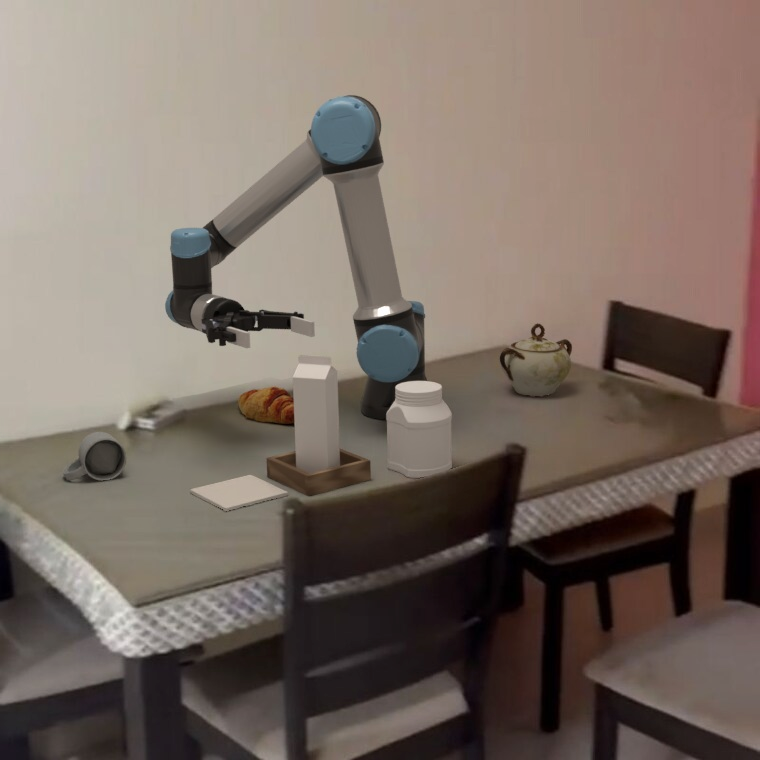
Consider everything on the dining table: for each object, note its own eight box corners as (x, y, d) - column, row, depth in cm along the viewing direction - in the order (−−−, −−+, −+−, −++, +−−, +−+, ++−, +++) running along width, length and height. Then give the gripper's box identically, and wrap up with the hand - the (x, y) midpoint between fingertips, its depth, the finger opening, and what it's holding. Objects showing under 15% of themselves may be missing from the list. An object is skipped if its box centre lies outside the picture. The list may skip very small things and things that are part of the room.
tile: (250, 477, 219) (250, 474, 219) (288, 495, 210) (287, 492, 210) (190, 492, 212) (189, 489, 212) (226, 511, 203) (225, 508, 203)
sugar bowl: (548, 378, 283) (549, 313, 279) (593, 391, 271) (594, 323, 267) (478, 391, 273) (478, 324, 269) (522, 406, 261) (523, 336, 257)
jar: (379, 465, 225) (377, 384, 221) (421, 455, 230) (420, 376, 226) (417, 481, 216) (416, 397, 212) (460, 470, 221) (460, 388, 217)
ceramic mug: (118, 464, 228) (114, 424, 226) (128, 477, 221) (124, 436, 219) (60, 474, 224) (55, 433, 222) (68, 487, 217) (63, 445, 215)
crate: (327, 461, 227) (327, 443, 226) (370, 479, 217) (370, 460, 216) (267, 476, 220) (266, 457, 219) (308, 496, 210) (308, 476, 209)
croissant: (230, 425, 264) (213, 396, 260) (263, 395, 269) (247, 367, 265) (291, 444, 249) (274, 414, 244) (325, 412, 253) (309, 382, 249)
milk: (309, 472, 222) (304, 350, 217) (341, 474, 220) (337, 352, 215) (296, 482, 217) (291, 358, 211) (329, 485, 215) (324, 360, 209)
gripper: (275, 326, 245) (338, 345, 229) (161, 345, 231) (220, 366, 214) (273, 289, 243) (337, 304, 227) (159, 305, 229) (218, 323, 212)
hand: (281, 334), depth 221 cm, fingers open, 13 cm apart
